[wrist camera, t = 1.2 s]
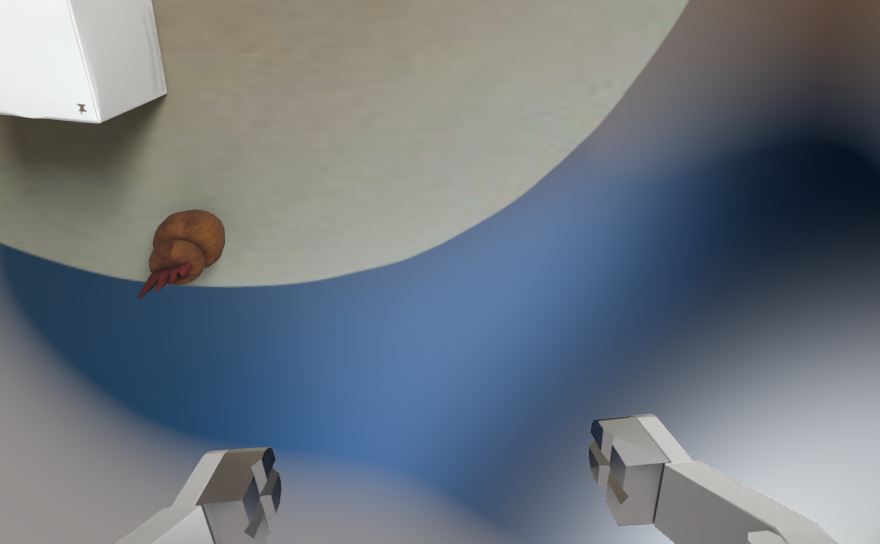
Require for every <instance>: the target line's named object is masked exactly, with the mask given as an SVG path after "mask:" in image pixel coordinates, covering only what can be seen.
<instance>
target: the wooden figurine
mask: <svg viewBox="0 0 880 544" xmlns="http://www.w3.org/2000/svg"><path fill="white" fill-rule="evenodd" d="M224 245H225V232H224V227H223V225H222V223H221V221H220V220H219V219H218V218H217V217H216V216H215V215H214V214H211V213H209V212H206V211H202V210H188V211H183V212H178V213H174V214H172V215H170V216H169V217H167V218H166V219H165V220H164V221H163V222H162V223H161V224H160V225H159V227H158V228H157V230H156V233H155V236H154V240H153V247H154V250H153V252H152V254H151V257H150V259H149V266H150V271H151V272H152V274H151V275H150V277H149V278H148V280H147V282H146V283H145V285H144V287H143V288H142V290H141V292H140V294H139V295H138V298H142V297H143V296H144V295H145V294H146V293H148V292H149V291H150V290H151V289H152V288H153V287H154V286H156V285H157V286H156V291H159V290H160V289H161V288H162V287H163V286H164V285H165V284H166V283H168V284H173V285H180V284H186V283H189V282H192V281H193V280H194V279H196V278H197V277H198V276H200V274H201V273H202V271H203V269H204V268H206V267H209V266H210V265H212V264H213V263H215V262H216V261H217V260H218V259H219V258H220V256H221V254H222V251H223V248H224Z"/></svg>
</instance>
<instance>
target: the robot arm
mask: <svg viewBox="0 0 880 544" xmlns="http://www.w3.org/2000/svg"><path fill="white" fill-rule="evenodd" d="M591 434H592V436H593V438H594V441H593V442H592V444H591V445H590V446H589V463H590V468H591V471H592V474H593V477H594V479H595V481H596V483H597V485H598V486H599V487H600V488H602V489H603V490H604V491H606V503H607V505H608V507H609V509H610V511H611V513H612V515H613V517H614V519H615V521H616V523H617V525H618V526H626V525H642V524H654V526H655V527H656V528H657V529H659V530H660V531H661V532H662V533H663V534H664V535H666V536H667V537H668V538H669V539H670V540H672V541H673V542H674V543H675V544H837V543H836V542H835V541H834V540H833V539H832V538H831V537H830V536H829V535H828V534H827V533H826V532H825V531H824V530H823V529H822V528H821V527H820V526H819V525H818V524H817V523H815V522H813V521H811V520H809V519H807V518H805V517H804V516H802V515H800V514H798V513H796V512H794V511H792V510H790V509H788V508H786V507H785V506H783V505H781V504H779V503H777V502H775V501H774V500H772V499H770V498H768V497H766V496H764V495H762V494H760V493H758V492H757V491H755V490H753V489H751V488H749V487H747V486H746V485H744V484H742V483H740V482H738V481H736V480H734V479H732V478H730V477H728V476H727V475H725V474H723V473H721V472H719V471H717V470H716V469H714V468H712V467H710V466H708V465H706V464H704V463H702V462H701V461H693V460H692V459H691V458H690V457H689V456H688V454H687V453H686V452H685V451H684V450H683V448H682V447H681V446H680V445H679V444H678V442H677V441H676V440H675V439H674V438H673V436H672V435H671V434H670V433H669V432H668V430H667V429H666V428H665V427H664V426H663V424H662V423H661V422H660V421H659V420H658V419H657V417H656V416H654V415H653V414H644V415H634V416H627V417H616V418H606V419H595V420H593V422H592V424H591ZM275 460H276V459H275V455H274V452H273V449H272V448H270V447H263V448H247V449H230V450H221V451H209V452H208V453H206V454H204V456H203V457H202V458H201V460H200V461H199V463H198V465H197V466H196V468H195V469H194V471H193V472H192V474H191V475H190V477H189V479H188V480H187V482H186V483H185V485H184V486H183V488H182V490H181V491H180V493H179V495H178V496H177V497H176V499H175V501H174V502H173V504H172V505H171V507H170V508H165V509H162V510H161V511H160V512H158V513H157V514H155V515H154V516H152V517H151V518H150V519H148V520H147V521H146V522H144V523H143V524H142V525H140V526H139V527H138V528H136V529H135V530H133V531H132V532H131V533H129V534H128V535H126V536H125V537H124V538H122V539H121V540H120V541H118V542H117V543H116V544H266V542H267V539H268V536H269V533H270V531H269V527H268V522H269V521H270V520H271V519H272V518H273V517H274V516H275V515H276V513H277V510H278V507H279V504H280V497H281V479H280V475H279V473H278V472H277V471H276V470H275V469H273V468H272V467H273V464H274V462H275Z"/></svg>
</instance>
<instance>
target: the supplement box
mask: <svg viewBox="0 0 880 544" xmlns="http://www.w3.org/2000/svg"><path fill="white" fill-rule="evenodd" d="M165 94H167V89H166V83H165V77H164V71H163V65H162V59H161V53H160V47H159V41H158V35H157V29H156V23H155V17H154V12H153V6H152V2H151V0H0V114H2V115H12V116H21V117H26V118H44V119H54V120H65V121H75V122H85V123H97V124H99V123H102V122H104V121H106V120H109V119H111V118H113V117H115V116H118V115H120V114H122V113H124V112H127V111H129V110H131V109H134V108H136V107H138V106H141V105H143V104H145V103H147V102H149V101H152V100H154V99H156V98H158V97H161V96H163V95H165Z"/></svg>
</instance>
